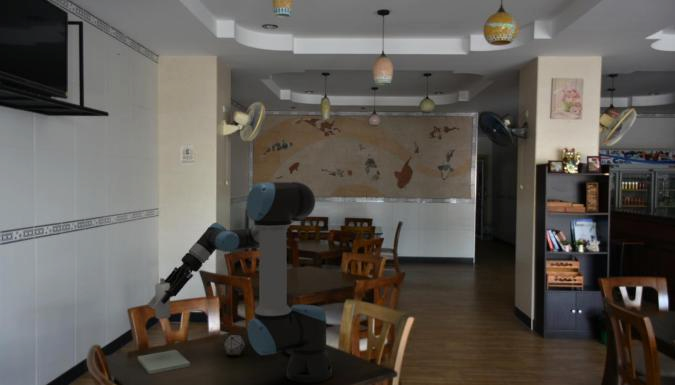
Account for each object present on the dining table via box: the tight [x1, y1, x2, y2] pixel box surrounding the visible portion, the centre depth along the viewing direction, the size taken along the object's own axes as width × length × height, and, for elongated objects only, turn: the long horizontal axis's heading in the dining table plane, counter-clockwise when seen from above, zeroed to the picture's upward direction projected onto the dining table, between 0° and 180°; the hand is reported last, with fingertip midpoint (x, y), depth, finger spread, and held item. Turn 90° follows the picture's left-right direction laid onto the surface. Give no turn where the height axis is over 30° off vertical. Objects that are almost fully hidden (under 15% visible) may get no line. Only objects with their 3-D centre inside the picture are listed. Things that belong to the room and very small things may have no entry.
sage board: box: [137, 349, 191, 375], centre depth 189 cm, size 18×14×1 cm
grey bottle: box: [154, 277, 171, 320], centre depth 190 cm, size 5×5×14 cm
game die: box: [221, 333, 248, 358], centre depth 196 cm, size 9×8×10 cm
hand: (152, 308), depth 188 cm, fingers closed on grey bottle, 5 cm apart
